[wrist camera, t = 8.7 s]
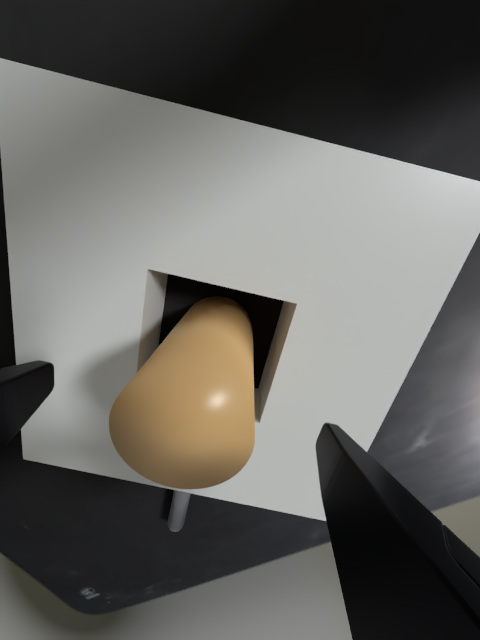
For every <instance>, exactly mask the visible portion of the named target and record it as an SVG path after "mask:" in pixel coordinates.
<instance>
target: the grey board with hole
mask: <svg viewBox="0 0 480 640" xmlns="http://www.w3.org/2000/svg"><path fill="white" fill-rule="evenodd" d="M0 151H1V165H2V179H3V192H4V206H5V219H6V233H7V246H8V260H9V274H10V287H11V301H12V314H13V328H14V341H15V355H16V365H19V364H23V363H28V362H32V361H37V360H41V361H46V362H51V363H52V364H53V365H54V388H53V390H52V392H51V393H50V395H49V396H48V397H47V398H46V399H45V401H44V402H43V403H42V404H41V405H40V407H39V408H38V409H37V410H36V411H35V413H34V414H33V415H32V416H31V417H30V419H29V420H28V421H27V422H26V423H25V425H24V426H23V427H22V428H21V436H22V450H23V459H26V460H30V461H35V462H40V463H45V464H50V465H55V466H60V467H65V468H70V469H74V470H79V471H84V472H89V473H94V474H99V475H104V476H109V477H114V478H118V479H123V480H128V481H133V482H138V483H143V484H148V485H153V486H158V487H162V488H167V489H172V490H174V493H173V498H172V503H171V508H170V513H169V518H168V527H169V529H170V530H171V531H173V532H176V531H179V530H180V529H181V528H182V527H183V525H184V521H185V517H186V512H187V508H188V503H189V499H190V495H191V493H192V494H197V495H202V496H206V497H211V498H216V499H221V500H226V501H231V502H236V503H241V504H246V505H250V506H255V507H260V508H265V509H270V510H275V511H280V512H285V513H290V514H294V515H299V516H304V517H309V518H314V519H319V520H324V521H326V516H325V512H324V507H323V502H322V497H321V490H320V482H319V474H318V465H317V457H316V441H317V438H318V436H319V433H320V431H321V429H322V426H323V424H324V423H332V424H336V425H338V426H339V427H340V428H341V429H342V430H344V431H345V432H346V433H347V434H348V435H349V436H350V437H351V438H352V439H353V440H354V441H355V442H356V443H357V444H359V445H360V446H361V447H362V448H363V449H364V450H365V451H366V452H367V451H368V449H369V447H370V445H371V443H372V441H373V440H374V438H375V436H376V434H377V432H378V430H379V428H380V426H381V424H382V422H383V420H384V418H385V416H386V414H387V412H388V410H389V408H390V406H391V404H392V402H393V401H394V399H395V397H396V395H397V393H398V391H399V389H400V387H401V385H402V383H403V381H404V379H405V377H406V375H407V373H408V371H409V369H410V367H411V365H412V363H413V361H414V360H415V358H416V356H417V354H418V352H419V350H420V348H421V346H422V344H423V342H424V340H425V338H426V336H427V334H428V332H429V330H430V328H431V326H432V324H433V322H434V321H435V319H436V317H437V315H438V313H439V311H440V309H441V307H442V305H443V303H444V301H445V299H446V297H447V295H448V293H449V291H450V289H451V287H452V285H453V283H454V281H455V280H456V278H457V276H458V274H459V272H460V270H461V268H462V266H463V264H464V262H465V260H466V258H467V256H468V254H469V252H470V250H471V248H472V246H473V244H474V242H475V241H476V239H477V237H478V235H479V233H480V181H476V180H472V179H468V178H464V177H460V176H456V175H452V174H449V173H445V172H441V171H437V170H433V169H429V168H425V167H421V166H417V165H414V164H410V163H406V162H402V161H398V160H394V159H390V158H386V157H382V156H379V155H375V154H371V153H367V152H363V151H359V150H355V149H351V148H347V147H344V146H340V145H336V144H332V143H328V142H324V141H320V140H316V139H312V138H309V137H305V136H301V135H297V134H293V133H289V132H285V131H281V130H277V129H274V128H270V127H266V126H262V125H258V124H254V123H250V122H246V121H242V120H239V119H235V118H231V117H227V116H223V115H219V114H215V113H211V112H207V111H204V110H200V109H196V108H192V107H188V106H184V105H180V104H176V103H172V102H169V101H165V100H161V99H157V98H153V97H149V96H145V95H141V94H137V93H134V92H130V91H126V90H122V89H118V88H114V87H110V86H106V85H102V84H99V83H95V82H91V81H87V80H83V79H79V78H75V77H71V76H67V75H64V74H60V73H56V72H52V71H48V70H44V69H40V68H36V67H32V66H29V65H25V64H21V63H17V62H13V61H9V60H5V59H1V58H0ZM168 274H171V275H176V276H180V277H184V278H189V279H193V280H197V281H201V282H206V283H210V284H214V285H218V286H223V287H227V288H231V289H236V290H240V291H244V292H248V293H253V294H257V295H261V296H266V297H270V298H274V299H278V300H283V301H284V302H283V306H282V309H281V313H280V316H279V319H278V323H277V326H276V330H275V333H274V336H273V340H272V343H271V346H270V350H269V353H268V357H267V360H266V363H265V367H264V370H263V374H262V377H261V380H260V384H259V387H258V389H257V388H254V413H255V443H254V448H253V452H252V454H251V457H250V459H249V460H248V462H247V464H246V465H245V466H244V467H243V468H242V470H241V471H240V472H238V473H237V474H236V475H235V476H233V477H232V478H230V479H229V480H227V481H225V482H223V483H221V484H218V485H215V486H212V487H208V488H202V489H178V488H171V487H168V486H164V485H161V484H158V483H155V482H153V481H151V480H149V479H147V478H145V477H143V476H141V475H140V474H138V473H137V472H136V471H134V470H133V469H132V468H131V467H130V466H129V465H127V464H126V463H125V461H124V460H123V459H122V458H121V457H120V455H119V454H118V452H117V451H116V449H115V447H114V445H113V443H112V440H111V437H110V431H109V416H110V411H111V408H112V405H113V403H114V402H115V400H116V398H117V397H118V395H119V394H120V393H121V392H122V390H123V389H124V388H125V387H126V385H127V384H128V383H129V382H130V381H131V379H132V378H133V377H134V376H135V375H136V373H137V372H138V371H139V370H140V368H141V367H142V366H143V365H144V364H145V362H146V361H147V360H148V359H149V358H150V356H151V355H152V354H153V353H154V351H155V350H156V349H157V348H158V346H159V338H160V331H161V323H162V316H163V308H164V301H165V293H166V286H167V278H168Z"/></svg>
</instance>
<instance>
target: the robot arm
mask: <svg viewBox="0 0 480 640" xmlns="http://www.w3.org/2000/svg"><path fill="white" fill-rule="evenodd" d="M53 388H54V365H53V364H52V363H51V362H46V361H41V360H37V361H32V362H28V363H23V364H19V365H14V366H10V367H5V368H1V369H0V450H1V449H2V448H3V447H4V446H5V445H6V444H7V443H8V442H9V441H10V440H11V439H12V438H13V437H14V436H15V435H16V434H17V433H18V432H19V430H20V429H21V428H22V427H23V426H24V425H25V423H26V422H27V421H28V420H29V419H30V417H31V416H32V415H33V414H34V413H35V411H36V410H37V409H38V408H39V407H40V405H41V404H42V403H43V402H44V401H45V399H46V398H47V397H48V396H49V395H50V393H51V392H52V390H53ZM316 457H317V465H318V474H319V482H320V490H321V497H322V502H323V507H324V512H325V516H326V521H327V525H328V530H329V534H330V539H331V543H332V548H333V552H334V557H335V562H336V566H337V571H338V575H339V579H340V584H341V589H342V593H343V598H344V602H345V607H346V612H347V616H348V620H349V625H350V630H351V634H352V639H353V640H480V557H479V556H478V555H477V554H476V553H475V552H473V551H472V550H471V549H470V548H469V547H468V546H467V545H466V544H465V543H464V542H462V541H461V540H460V539H459V538H458V537H457V536H456V535H455V534H454V533H453V532H452V531H451V530H450V529H449V528H448V527H446V526H445V525H442V522H441V521H440V520H439V519H438V518H437V517H436V516H435V515H433V514H432V513H431V512H430V511H429V510H428V509H427V508H426V507H425V506H424V505H423V504H422V503H421V502H420V501H419V500H417V499H416V498H415V497H414V496H413V495H412V494H411V493H410V492H409V491H408V490H407V489H406V488H405V487H404V486H402V485H401V484H400V483H399V482H398V481H397V480H396V479H395V478H394V477H393V476H392V475H391V474H390V473H389V472H387V471H386V470H385V469H384V468H383V467H382V466H381V465H380V464H379V463H378V462H377V461H376V460H375V459H374V458H372V457H371V456H370V455H369V454H368V453H367V452H366V451H365V450H364V449H363V448H362V447H361V446H360V445H359V444H357V443H356V442H355V441H354V440H353V439H352V438H351V437H350V436H349V435H348V434H347V433H346V432H345V431H344V430H342V429H341V428H340V427H339V426H338V425H336V424H332V423H324V424H323V426H322V429H321V431H320V433H319V436H318V438H317V441H316Z"/></svg>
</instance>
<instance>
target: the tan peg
mask: <svg viewBox="0 0 480 640" xmlns="http://www.w3.org/2000/svg"><path fill="white" fill-rule="evenodd" d="M109 431H110V437H111V440H112V443H113V445H114V447H115V449H116V451H117V452H118V454H119V455H120V457H121V458H122V459H123V460H124V461H125V463H126V464H127V465H129V466H130V467H131V468H132V469H133V470H134V471H136V472H137V473H138V474H140V475H141V476H143V477H145V478H147V479H149V480H151V481H153V482H155V483H158V484H161V485H164V486H168V487H171V488H178V489H202V488H208V487H212V486H215V485H218V484H221V483H223V482H225V481H227V480H229V479H230V478H232V477H233V476H235V475H236V474H237V473H238V472H240V471H241V470H242V468H243V467H244V466H245V465H246V464H247V462H248V460H249V459H250V457H251V454H252V452H253V448H254V443H255V413H254V361H253V325H252V321H251V318H250V316H249V314H248V312H247V311H246V310H245V309H244V308H243V307H242V306H241V305H240V304H239V303H238V302H236V301H234V300H232V299H230V298H227V297H222V296H211V297H206V298H204V299H201V300H199V301H198V302H196V303H195V304H194V305H193V306H192V307H191V308H190V309H189V310H188V311H187V313H186V314H185V315H184V316H183V317H182V319H181V320H180V321H179V322H178V323H177V325H176V326H175V327H174V328H173V330H172V331H171V332H170V333H169V334H168V336H167V337H166V338H165V339H164V340H163V342H162V343H161V344H160V345H159V347H158V348H157V349H156V350H155V351H154V353H153V354H152V355H151V356H150V358H149V359H148V360H147V361H146V362H145V364H144V365H143V366H142V367H141V368H140V370H139V371H138V372H137V373H136V375H135V376H134V377H133V378H132V379H131V381H130V382H129V383H128V384H127V385H126V387H125V388H124V389H123V390H122V392H121V393H120V394H119V395H118V397H117V398H116V400H115V402H114V403H113V405H112V408H111V411H110V416H109Z"/></svg>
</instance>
